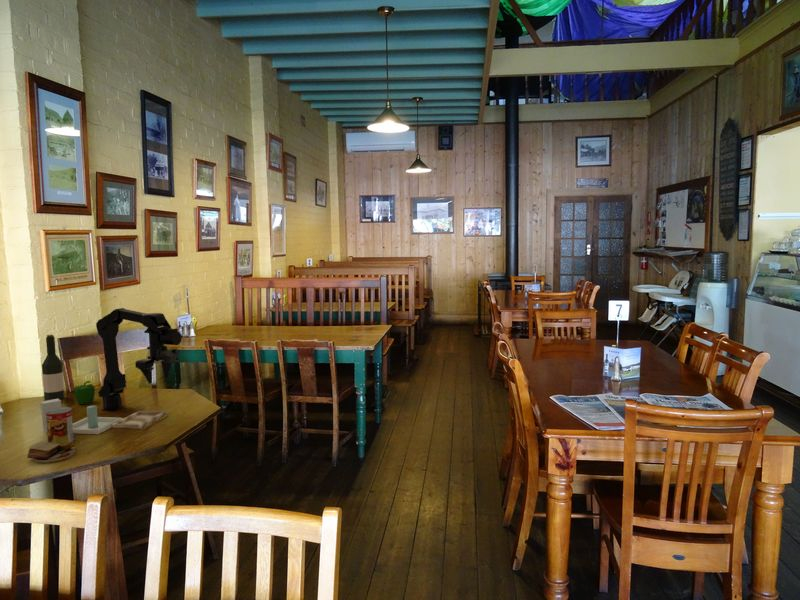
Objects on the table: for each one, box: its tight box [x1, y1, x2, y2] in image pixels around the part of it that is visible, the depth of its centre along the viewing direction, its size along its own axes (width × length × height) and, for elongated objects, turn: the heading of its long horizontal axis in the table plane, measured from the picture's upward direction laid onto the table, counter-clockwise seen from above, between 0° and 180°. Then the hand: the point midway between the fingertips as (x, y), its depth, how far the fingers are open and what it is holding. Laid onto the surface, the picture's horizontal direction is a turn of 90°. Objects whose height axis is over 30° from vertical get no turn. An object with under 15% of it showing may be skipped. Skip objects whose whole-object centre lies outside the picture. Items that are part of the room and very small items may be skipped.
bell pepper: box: [73, 380, 96, 405], centre depth 255 cm, size 8×8×10 cm
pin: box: [86, 405, 98, 428], centre depth 220 cm, size 3×3×8 cm
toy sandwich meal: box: [26, 441, 76, 464], centre depth 191 cm, size 12×14×5 cm
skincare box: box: [40, 399, 62, 434], centre depth 217 cm, size 6×4×12 cm
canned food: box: [46, 406, 74, 444], centre depth 204 cm, size 8×8×12 cm
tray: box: [111, 410, 167, 430], centre depth 227 cm, size 18×12×2 cm, turn 172°
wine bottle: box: [41, 334, 66, 401], centre depth 261 cm, size 8×8×30 cm
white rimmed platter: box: [72, 416, 123, 435], centre depth 220 cm, size 15×15×2 cm
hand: (158, 380), depth 237 cm, fingers open, 9 cm apart
